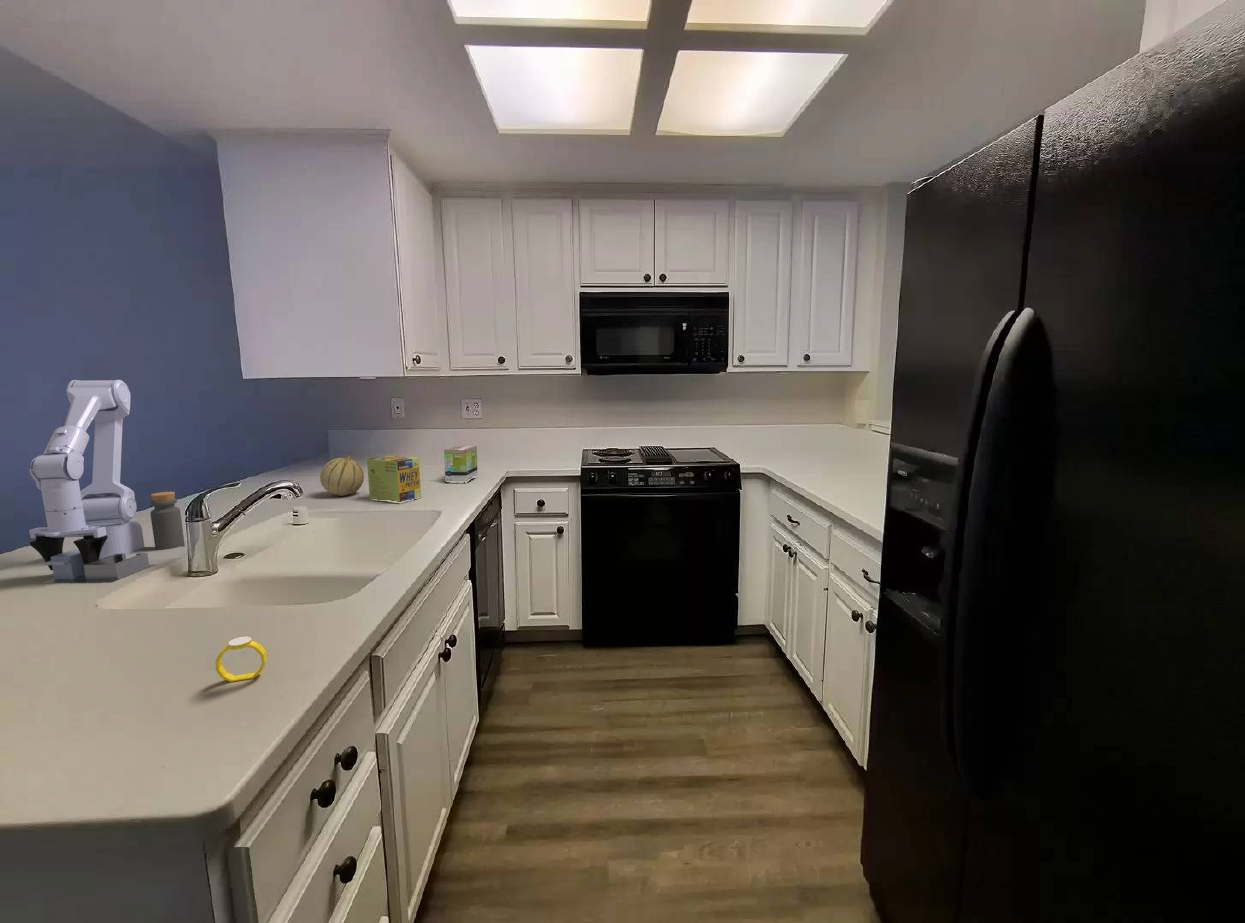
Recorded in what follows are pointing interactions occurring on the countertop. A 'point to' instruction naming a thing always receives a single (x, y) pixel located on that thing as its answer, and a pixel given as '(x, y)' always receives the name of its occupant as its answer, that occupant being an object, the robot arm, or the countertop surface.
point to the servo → (67, 565)
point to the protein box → (394, 478)
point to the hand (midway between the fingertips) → (74, 568)
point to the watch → (234, 645)
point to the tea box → (460, 463)
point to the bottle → (166, 521)
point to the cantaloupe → (342, 476)
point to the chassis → (109, 569)
